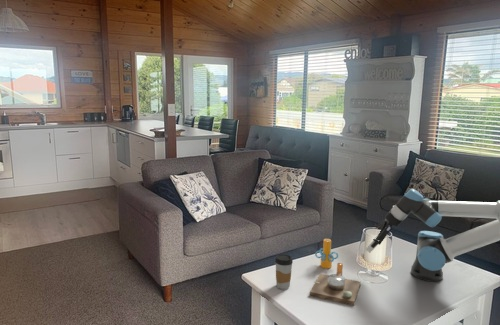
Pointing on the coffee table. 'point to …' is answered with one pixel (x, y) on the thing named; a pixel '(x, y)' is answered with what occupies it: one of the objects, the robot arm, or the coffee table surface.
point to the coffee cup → (283, 271)
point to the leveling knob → (337, 279)
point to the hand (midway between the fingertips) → (368, 245)
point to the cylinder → (326, 254)
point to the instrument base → (341, 296)
